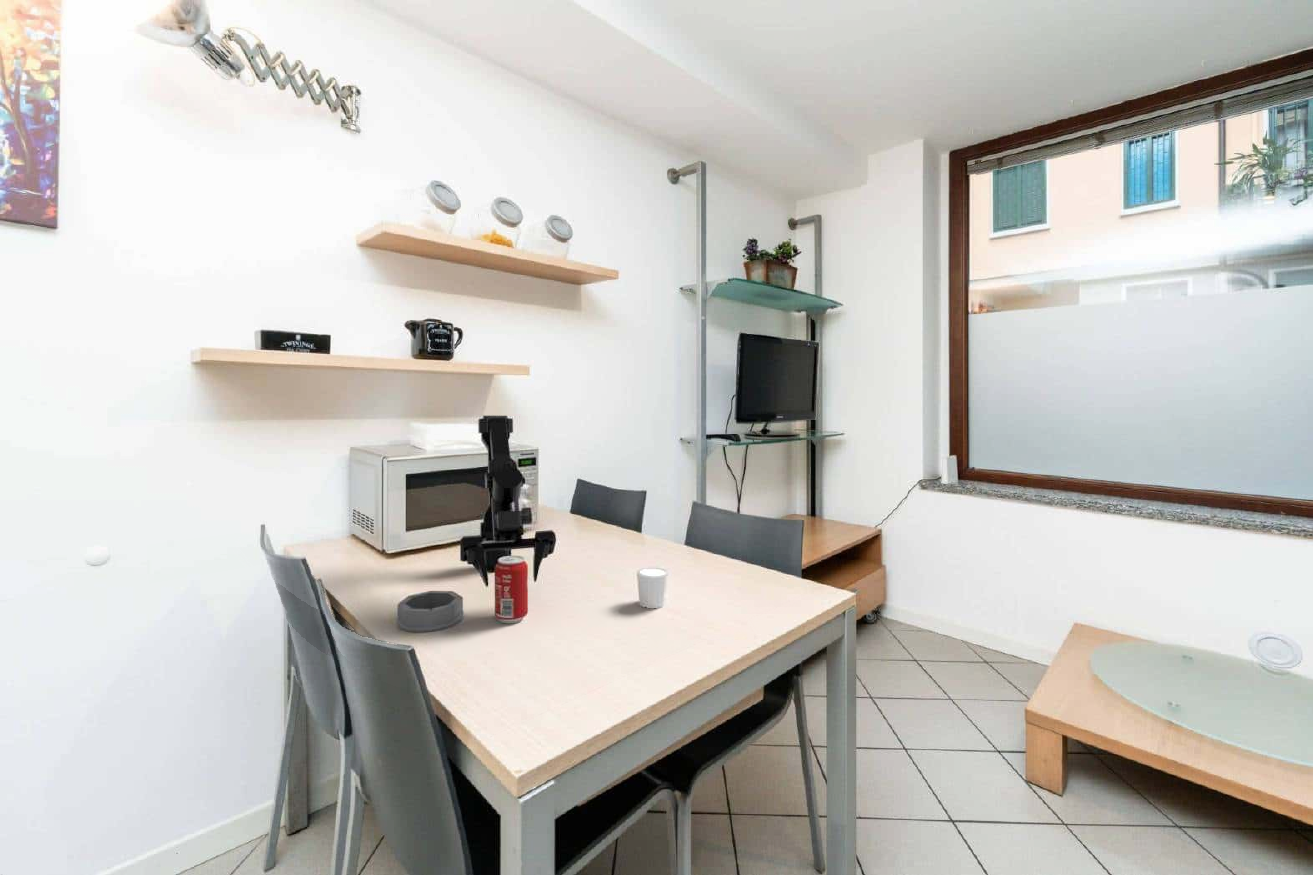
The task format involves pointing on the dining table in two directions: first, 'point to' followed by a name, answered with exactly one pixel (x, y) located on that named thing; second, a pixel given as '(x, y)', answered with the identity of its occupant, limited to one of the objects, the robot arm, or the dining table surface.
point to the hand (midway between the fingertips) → (511, 583)
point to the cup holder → (430, 611)
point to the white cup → (652, 587)
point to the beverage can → (511, 589)
